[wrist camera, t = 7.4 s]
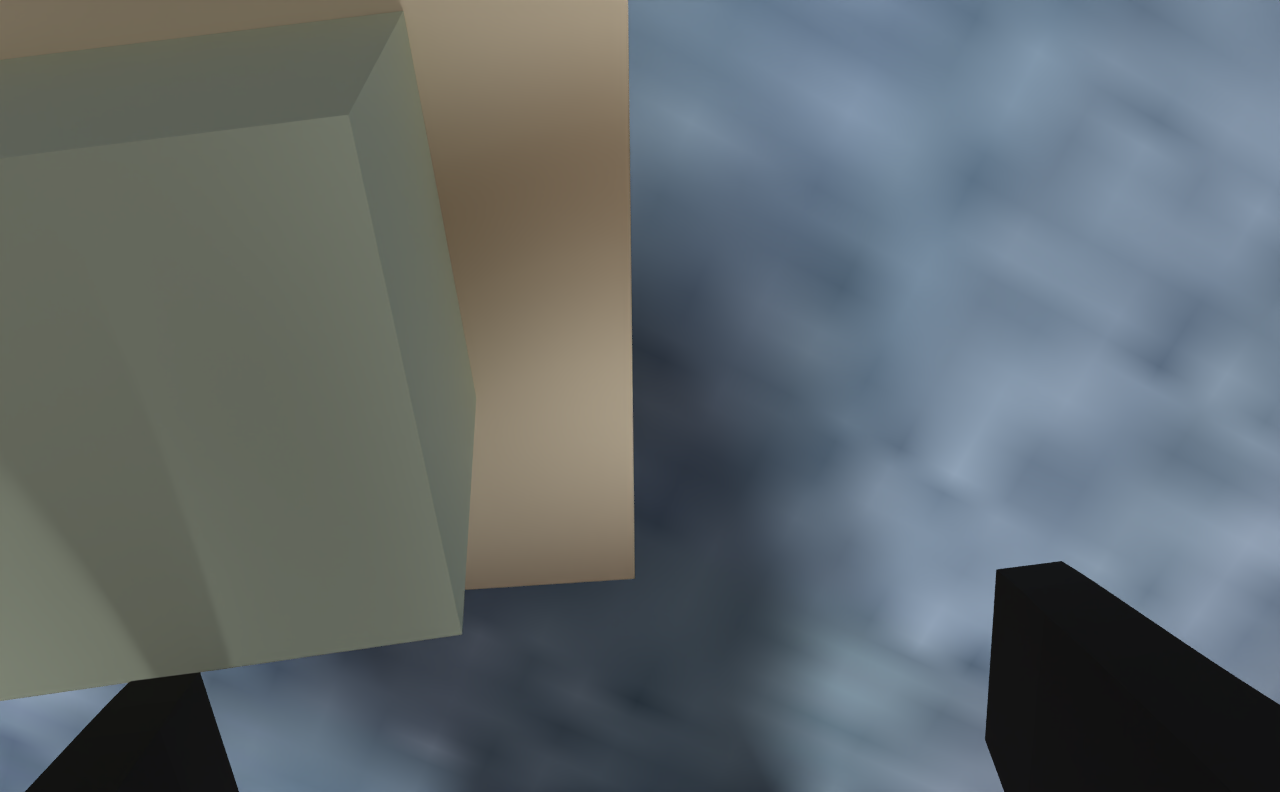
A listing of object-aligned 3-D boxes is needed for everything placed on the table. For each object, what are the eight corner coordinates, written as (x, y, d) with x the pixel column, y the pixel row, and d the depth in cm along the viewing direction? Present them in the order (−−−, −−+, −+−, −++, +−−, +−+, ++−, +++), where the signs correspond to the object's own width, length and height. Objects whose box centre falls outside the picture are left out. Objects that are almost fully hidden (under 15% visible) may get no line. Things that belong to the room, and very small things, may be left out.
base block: (613, 446, 21) (634, 579, 17) (28, 478, 20) (-76, 625, 16) (600, -182, 16) (626, -178, 13) (-158, -175, 15) (-360, -169, 12)
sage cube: (476, 397, 16) (462, 634, 11) (98, 448, 15) (-69, 711, 11) (403, 10, 13) (349, 114, 9) (-43, 65, 13) (-328, 198, 9)
